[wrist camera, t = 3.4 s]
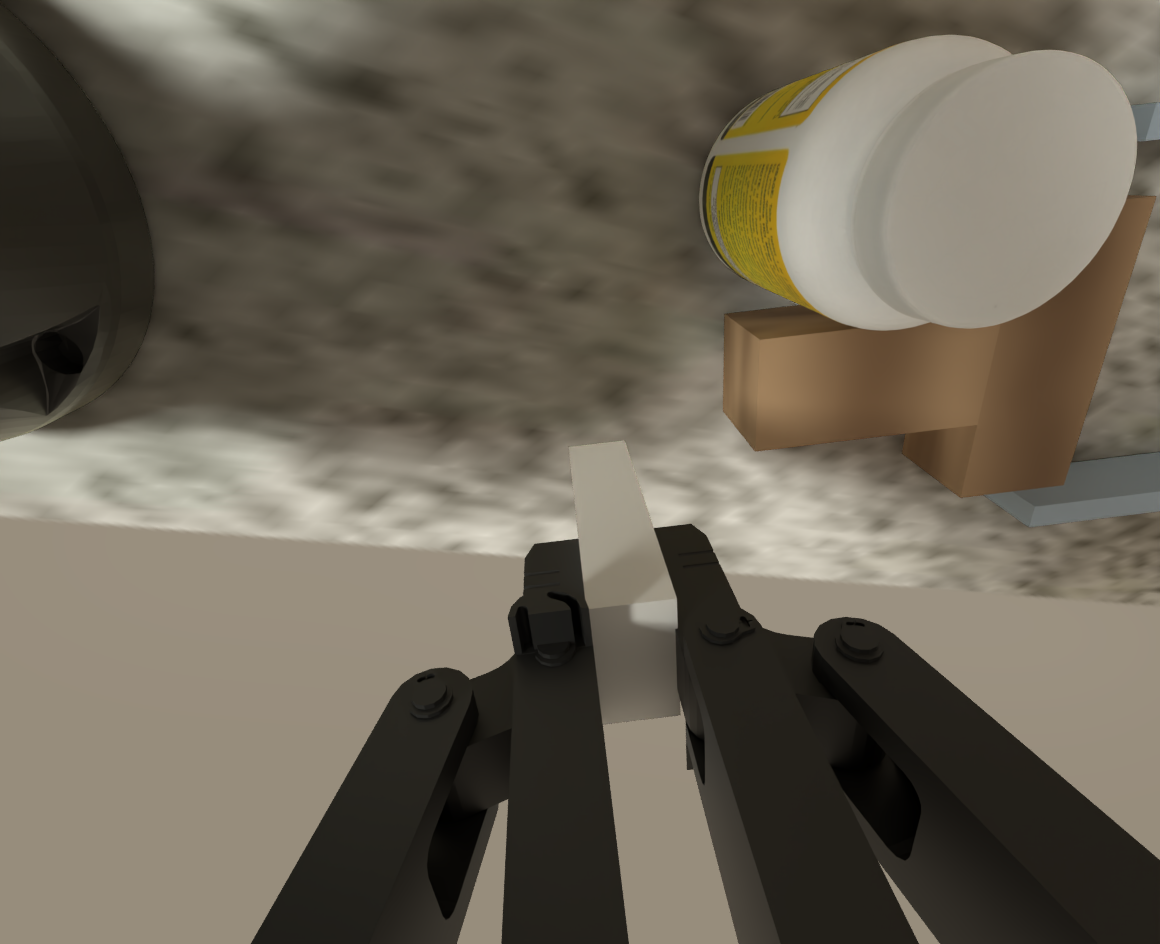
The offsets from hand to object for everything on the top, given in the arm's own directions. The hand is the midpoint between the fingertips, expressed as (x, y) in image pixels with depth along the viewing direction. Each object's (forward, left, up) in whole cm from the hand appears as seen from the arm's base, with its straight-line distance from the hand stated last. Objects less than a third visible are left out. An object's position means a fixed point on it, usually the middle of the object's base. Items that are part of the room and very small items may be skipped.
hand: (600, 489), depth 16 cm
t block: (+12, 0, -8) cm, 15 cm away
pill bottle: (+8, +6, -9) cm, 13 cm away
